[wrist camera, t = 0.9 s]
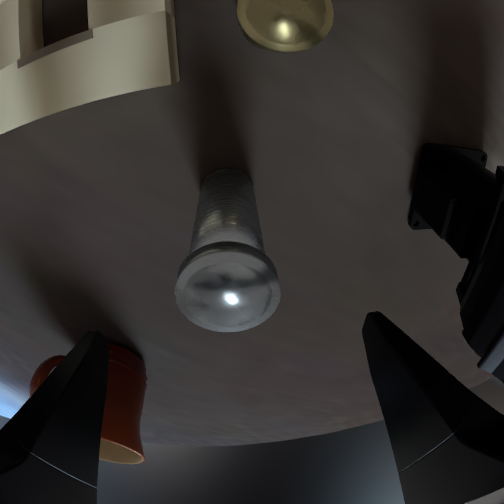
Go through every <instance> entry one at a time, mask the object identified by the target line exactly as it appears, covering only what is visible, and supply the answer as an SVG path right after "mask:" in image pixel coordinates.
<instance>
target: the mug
mask: <svg viewBox="0 0 504 504" xmlns="http://www.w3.org/2000/svg"><path fill="white" fill-rule="evenodd" d="M107 343H108V345H109V348H110V356H109V370H108V386H107V395H106V402H105V408H104V416H103V424H102V432H101V441H100V452H99V459H101V460H105V461H109V462H115V463H122V464H137V463H141V462H143V461H144V460H145V455H144V451H143V447H142V442H141V437H140V420H141V414H142V409H143V403H144V396H145V390H146V386H147V384H146V381H147V376H146V368H145V365H144V363H143V362H142V360H141V359H140V358H139V357H138V356H137V355H136V354H134V353H133V352H132V351H130V350H129V349H127V348H125V347H123V346H120V345H118V344H114V343H110V342H107ZM65 357H66V356H63V355H57V356H53V357H50V358H48V359H47V360H45V361H44V362H43V363H41V364H40V366H39V367H38V368H37V370H36V371H35V373H34V375H33V377H32V380H31V383H30V388H29V393H30V398H31V395H32V394H33V393H34V392H35V391H36V390H37V388H38V387H39V386H40V385H41V384H42V383H43V381H44V380H45V379H46V378H47V377H48V375H49V373H50V371H51V370H52V369H53V368H54V367H56V366H57V365H58V364H59V363H60V362H61V361H62V360H63V359H64V358H65Z"/></svg>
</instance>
